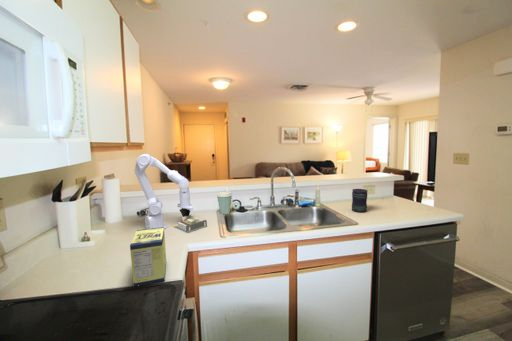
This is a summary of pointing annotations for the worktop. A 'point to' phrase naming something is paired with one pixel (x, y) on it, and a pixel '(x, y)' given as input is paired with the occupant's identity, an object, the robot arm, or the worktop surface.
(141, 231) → the protein box
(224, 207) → the disposable coffee cup
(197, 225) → the loading dock
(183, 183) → the robot arm
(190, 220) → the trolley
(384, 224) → the worktop surface
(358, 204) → the storage jar
